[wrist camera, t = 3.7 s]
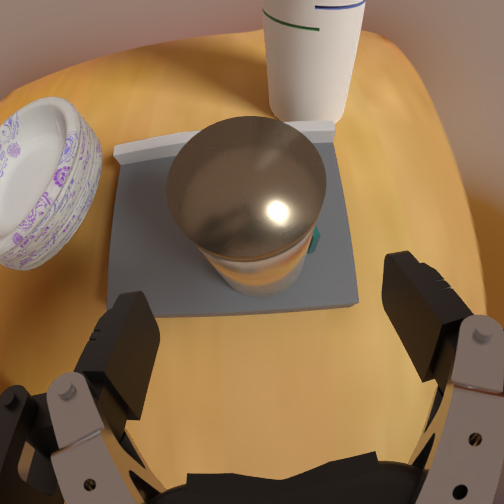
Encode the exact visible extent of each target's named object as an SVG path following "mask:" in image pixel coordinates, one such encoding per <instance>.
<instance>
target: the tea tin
mask: <svg viewBox="0 0 504 504" xmlns="http://www.w3.org/2000/svg"><path fill="white" fill-rule="evenodd" d="M326 185H327V183H326V172H325V167H324V164H323V161H322V158H321V156H320V154H319V153H318V151H317V149H316V148H315V146H314V145H313V144H312V142H311V141H310V140H309V139H308V138H307V137H306V136H305V135H303V134H302V133H301V132H300V131H298V130H297V129H295V128H294V127H292V126H290V125H288V124H286V123H284V122H281V121H278V120H275V119H271V118H266V117H258V116H243V117H235V118H230V119H226V120H223V121H220V122H217V123H215V124H213V125H210V126H208V127H207V128H205V129H203V130H201V131H200V132H199V133H197V134H196V135H194V136H193V137H192V138H191V139H190V140H189V141H188V142H187V143H186V144H185V145H184V146H183V147H182V148H181V150H180V151H179V153H178V154H177V156H176V157H175V159H174V161H173V163H172V165H171V168H170V170H169V173H168V178H167V184H166V196H167V203H168V207H169V210H170V213H171V215H172V218H173V219H174V221H175V223H176V224H177V226H178V227H179V228H180V229H181V231H182V232H183V233H184V234H185V235H186V237H187V238H188V239H189V240H190V241H191V242H192V243H193V244H194V245H195V246H196V247H197V248H198V249H199V250H200V251H201V252H202V253H203V255H204V256H205V257H206V258H207V259H208V261H209V262H210V263H211V264H212V265H213V266H214V268H215V269H216V270H217V271H218V272H219V273H220V275H221V276H222V277H223V278H224V279H225V280H226V282H227V283H228V284H229V285H230V286H231V287H232V288H233V289H234V290H236V291H237V292H239V293H241V294H243V295H245V296H248V297H252V298H269V297H274V296H276V295H279V294H281V293H283V292H284V291H286V290H287V289H289V288H290V287H291V286H292V285H293V284H294V283H295V281H296V280H297V279H298V277H299V275H300V273H301V271H302V268H303V264H304V261H305V258H306V254H307V252H308V255H309V254H311V253H313V252H315V249H316V247H317V244H318V241H319V239H320V236H321V234H320V232H319V231H318V229H317V227H316V225H315V224H316V221H317V219H318V217H319V214H320V212H321V208H322V205H323V201H324V198H325V194H326Z"/></svg>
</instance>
